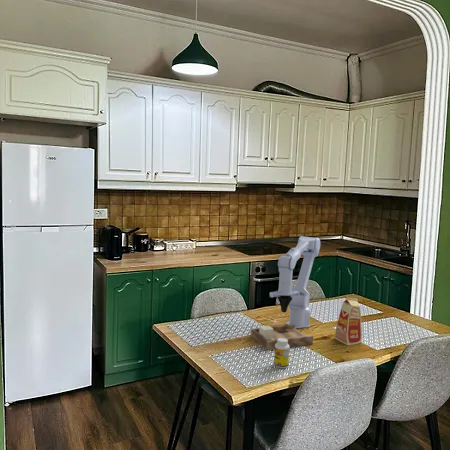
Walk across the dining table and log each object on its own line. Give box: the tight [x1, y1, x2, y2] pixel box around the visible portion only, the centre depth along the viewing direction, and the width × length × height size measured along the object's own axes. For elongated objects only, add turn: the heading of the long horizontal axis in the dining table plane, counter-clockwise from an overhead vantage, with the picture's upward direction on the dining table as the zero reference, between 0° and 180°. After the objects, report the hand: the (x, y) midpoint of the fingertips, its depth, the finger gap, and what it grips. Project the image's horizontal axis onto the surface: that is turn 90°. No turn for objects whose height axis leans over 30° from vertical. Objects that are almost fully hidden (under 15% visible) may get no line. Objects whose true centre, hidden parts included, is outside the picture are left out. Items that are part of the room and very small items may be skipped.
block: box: [258, 325, 274, 340], centre depth 189 cm, size 4×4×4 cm
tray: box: [250, 324, 314, 351], centre depth 192 cm, size 22×16×4 cm
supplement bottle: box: [273, 338, 291, 369], centre depth 165 cm, size 6×6×10 cm
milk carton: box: [333, 296, 363, 346], centre depth 194 cm, size 9×9×20 cm
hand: (283, 311), depth 199 cm, fingers closed
